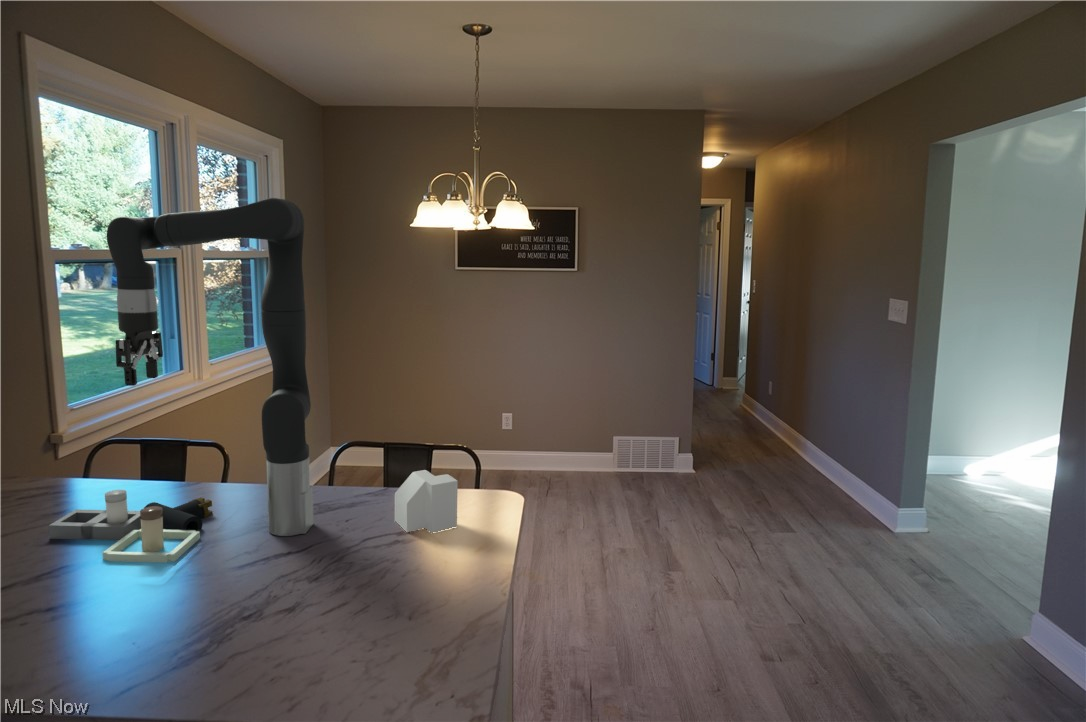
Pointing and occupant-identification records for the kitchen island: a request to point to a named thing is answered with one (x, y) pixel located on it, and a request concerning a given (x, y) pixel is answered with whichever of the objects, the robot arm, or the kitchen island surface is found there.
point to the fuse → (116, 506)
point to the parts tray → (116, 555)
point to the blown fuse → (152, 529)
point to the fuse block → (92, 526)
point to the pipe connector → (185, 514)
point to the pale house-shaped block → (427, 502)
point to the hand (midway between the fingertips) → (142, 381)
